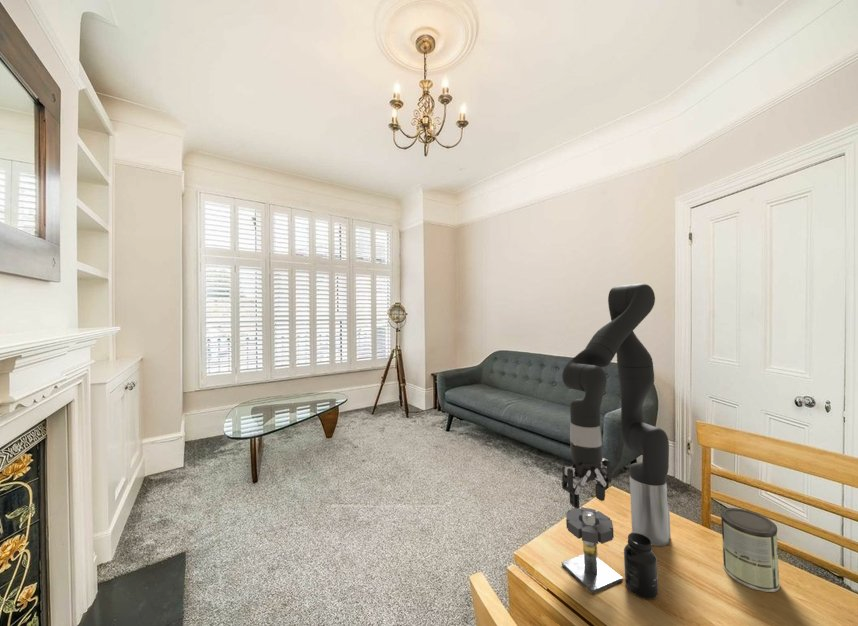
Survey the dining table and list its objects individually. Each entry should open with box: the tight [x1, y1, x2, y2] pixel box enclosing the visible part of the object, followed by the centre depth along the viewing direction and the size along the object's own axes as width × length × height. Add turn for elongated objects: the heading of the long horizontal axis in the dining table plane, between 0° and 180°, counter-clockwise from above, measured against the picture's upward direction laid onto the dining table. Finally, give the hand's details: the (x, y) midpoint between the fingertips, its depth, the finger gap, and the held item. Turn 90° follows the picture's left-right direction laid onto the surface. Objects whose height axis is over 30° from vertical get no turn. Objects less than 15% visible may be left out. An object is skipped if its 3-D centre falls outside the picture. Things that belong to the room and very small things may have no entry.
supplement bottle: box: [623, 532, 659, 600], centre depth 81 cm, size 7×7×12 cm
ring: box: [565, 506, 615, 545], centre depth 86 cm, size 11×11×2 cm
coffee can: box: [719, 507, 781, 593], centre depth 83 cm, size 10×10×14 cm
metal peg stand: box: [561, 511, 624, 595], centre depth 86 cm, size 10×10×15 cm
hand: (587, 503), depth 86 cm, fingers open, 8 cm apart
